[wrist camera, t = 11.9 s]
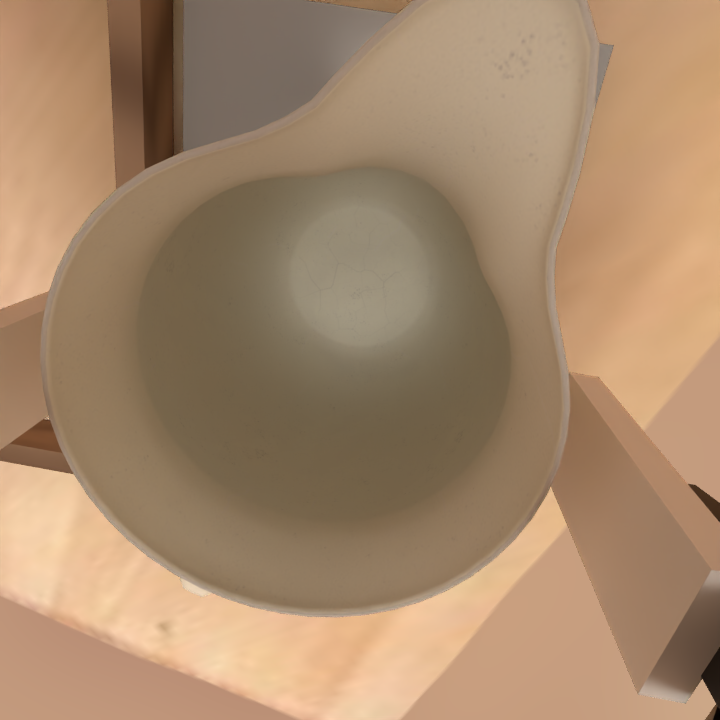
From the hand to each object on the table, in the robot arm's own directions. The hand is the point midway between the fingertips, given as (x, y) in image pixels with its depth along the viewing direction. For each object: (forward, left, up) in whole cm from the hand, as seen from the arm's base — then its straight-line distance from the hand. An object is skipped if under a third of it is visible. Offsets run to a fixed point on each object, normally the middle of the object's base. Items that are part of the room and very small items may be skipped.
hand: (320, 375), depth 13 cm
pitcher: (0, 0, -10) cm, 10 cm away
